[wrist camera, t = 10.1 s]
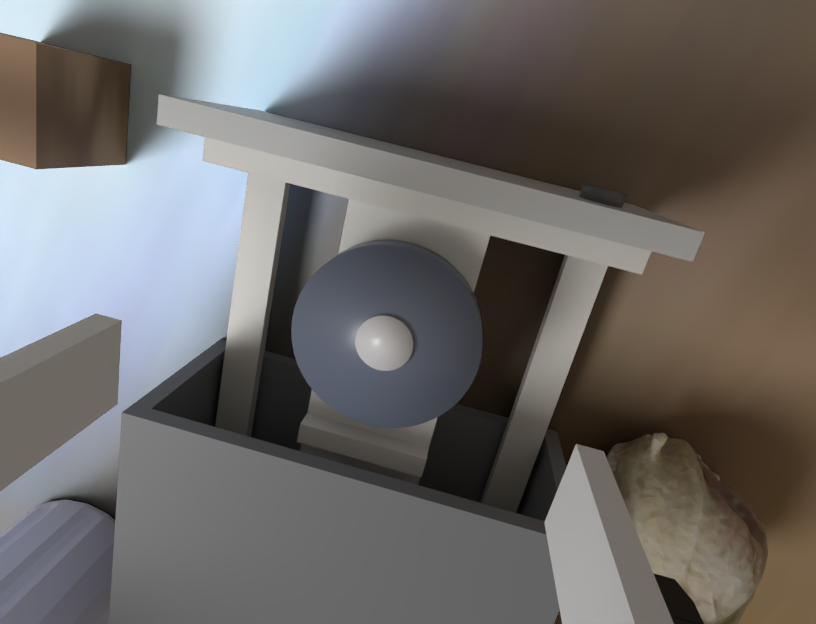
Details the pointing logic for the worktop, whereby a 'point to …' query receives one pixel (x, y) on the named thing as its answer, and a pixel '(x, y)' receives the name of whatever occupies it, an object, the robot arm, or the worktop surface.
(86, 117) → the block
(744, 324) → the worktop surface
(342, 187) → the grey drawer
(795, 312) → the worktop surface
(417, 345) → the disc
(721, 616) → the garlic bulb
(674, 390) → the worktop surface
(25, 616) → the soap bottle
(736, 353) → the worktop surface
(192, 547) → the housing
